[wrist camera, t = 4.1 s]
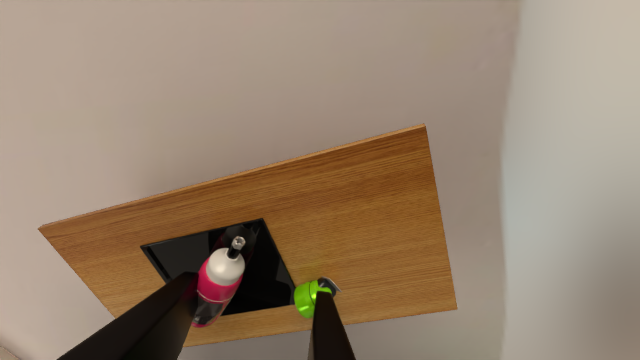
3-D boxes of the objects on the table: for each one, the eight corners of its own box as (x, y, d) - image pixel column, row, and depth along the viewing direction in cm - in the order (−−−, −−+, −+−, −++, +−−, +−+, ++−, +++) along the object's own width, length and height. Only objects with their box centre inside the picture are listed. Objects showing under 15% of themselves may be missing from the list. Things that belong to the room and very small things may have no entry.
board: (455, 304, 10) (471, 347, 9) (147, 347, 13) (124, 386, 11) (424, 123, 7) (440, 146, 6) (43, 224, 10) (-4, 256, 9)
